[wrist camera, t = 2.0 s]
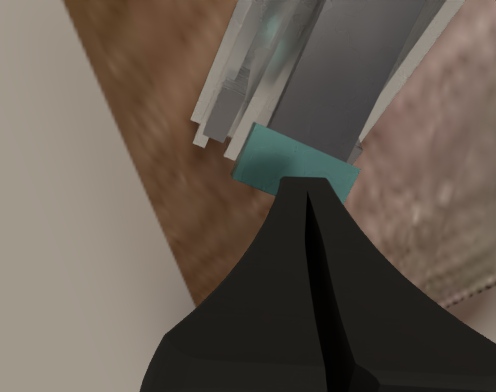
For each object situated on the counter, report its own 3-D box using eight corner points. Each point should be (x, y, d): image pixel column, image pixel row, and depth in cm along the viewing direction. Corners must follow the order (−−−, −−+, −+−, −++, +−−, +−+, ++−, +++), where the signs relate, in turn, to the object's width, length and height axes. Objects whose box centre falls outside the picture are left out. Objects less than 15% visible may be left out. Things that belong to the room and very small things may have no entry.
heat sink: (318, -200, 14) (332, -234, 10) (495, -85, 16) (564, -78, 12) (195, 107, 22) (177, 153, 18) (323, 163, 23) (332, 216, 19)
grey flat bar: (370, -150, 12) (383, -169, 11) (474, -84, 13) (493, -96, 12) (230, 173, 14) (232, 178, 13) (327, 212, 15) (335, 220, 14)
